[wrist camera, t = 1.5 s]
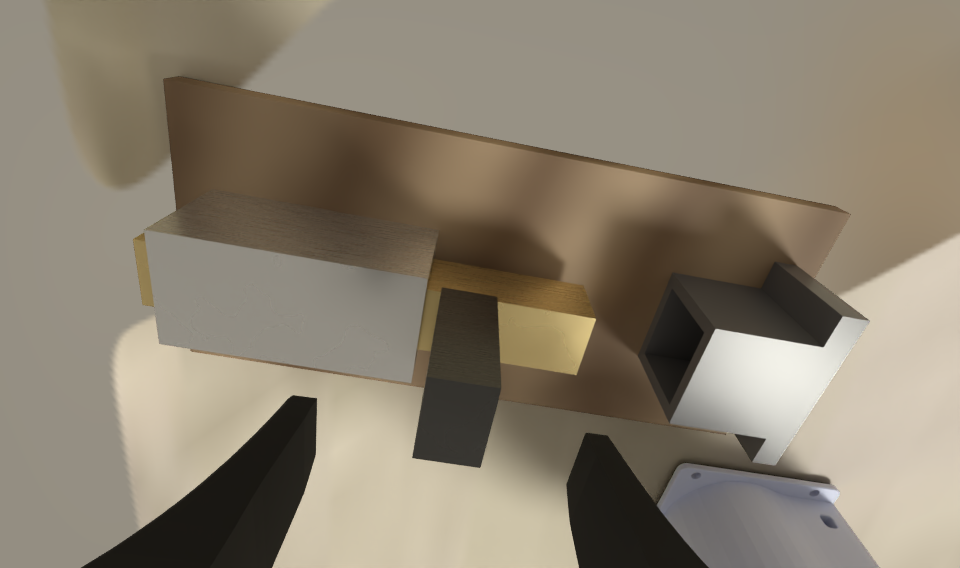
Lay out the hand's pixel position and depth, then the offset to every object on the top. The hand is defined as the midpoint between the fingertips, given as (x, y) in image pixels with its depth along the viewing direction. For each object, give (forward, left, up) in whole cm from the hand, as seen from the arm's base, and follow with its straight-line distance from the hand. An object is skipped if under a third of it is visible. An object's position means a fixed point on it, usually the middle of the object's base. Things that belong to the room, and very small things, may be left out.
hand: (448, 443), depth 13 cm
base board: (-1, 0, -10) cm, 10 cm away
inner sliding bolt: (+3, 0, -8) cm, 9 cm away
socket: (-11, 0, -9) cm, 14 cm away
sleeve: (+6, 0, -9) cm, 11 cm away
